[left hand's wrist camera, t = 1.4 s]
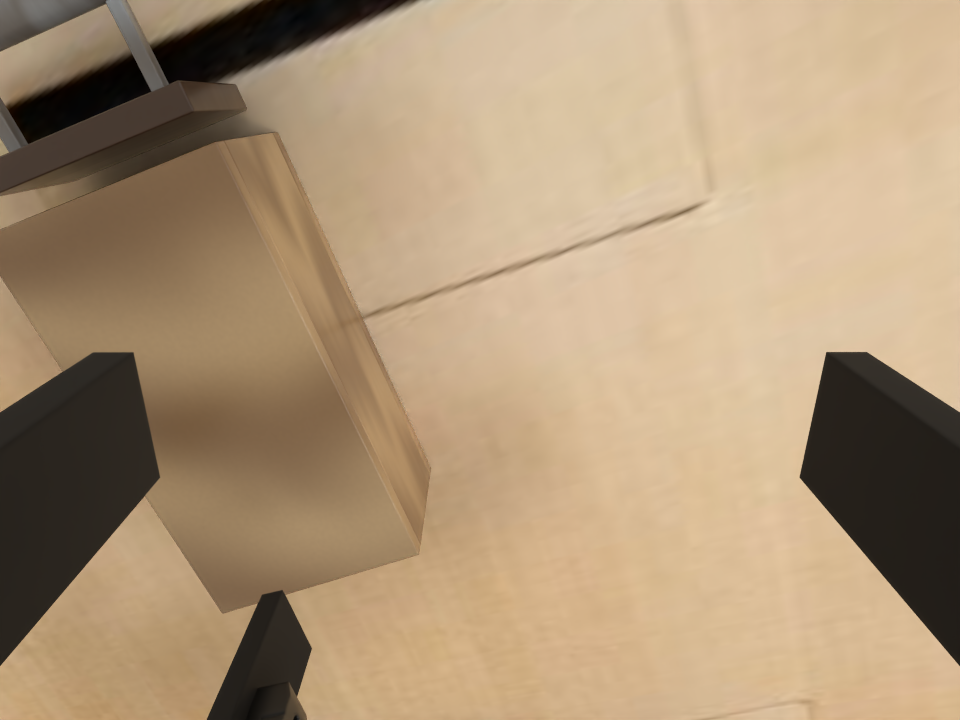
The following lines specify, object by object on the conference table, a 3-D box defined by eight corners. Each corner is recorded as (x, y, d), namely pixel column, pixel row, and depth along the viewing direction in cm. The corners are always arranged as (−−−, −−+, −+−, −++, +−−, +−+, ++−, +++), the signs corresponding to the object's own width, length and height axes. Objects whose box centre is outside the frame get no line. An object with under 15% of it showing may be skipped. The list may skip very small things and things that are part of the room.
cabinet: (87, 208, 33) (-26, 239, 26) (277, 131, 32) (216, 140, 24) (269, 520, 40) (222, 614, 33) (431, 468, 39) (419, 555, 31)
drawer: (-9, 41, 29) (-126, 27, 24) (177, -43, 28) (100, -79, 22) (245, 478, 38) (204, 545, 32) (396, 428, 37) (381, 488, 31)
